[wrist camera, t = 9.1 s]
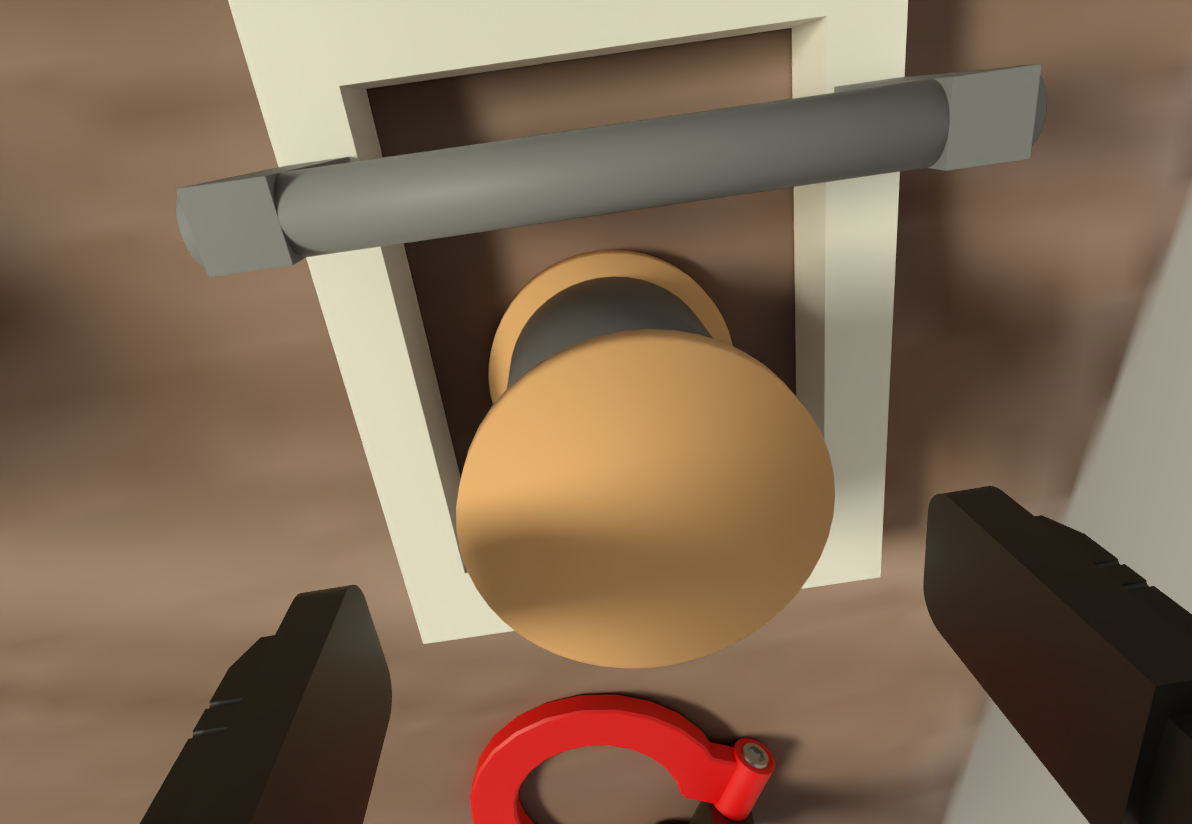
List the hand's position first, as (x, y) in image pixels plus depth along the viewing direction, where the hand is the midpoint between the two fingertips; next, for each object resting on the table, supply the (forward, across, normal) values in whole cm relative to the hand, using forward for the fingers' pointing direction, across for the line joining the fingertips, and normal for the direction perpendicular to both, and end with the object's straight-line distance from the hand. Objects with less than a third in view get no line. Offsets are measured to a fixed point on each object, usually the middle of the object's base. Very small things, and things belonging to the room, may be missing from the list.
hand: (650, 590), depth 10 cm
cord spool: (+8, 0, 0) cm, 8 cm away
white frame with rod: (+8, 0, -2) cm, 9 cm away
